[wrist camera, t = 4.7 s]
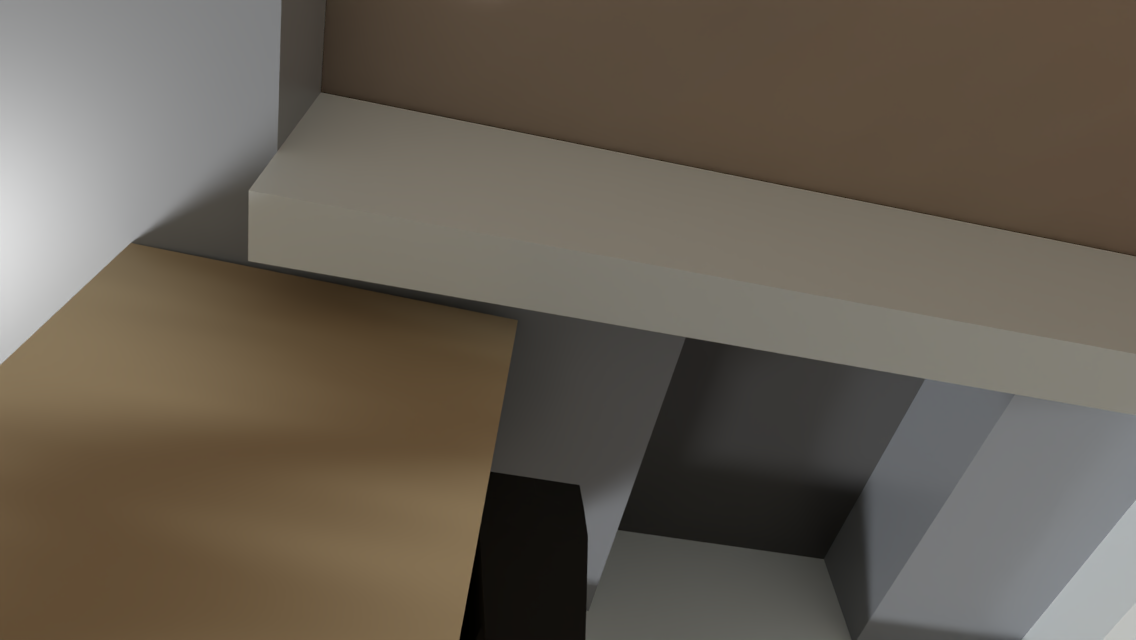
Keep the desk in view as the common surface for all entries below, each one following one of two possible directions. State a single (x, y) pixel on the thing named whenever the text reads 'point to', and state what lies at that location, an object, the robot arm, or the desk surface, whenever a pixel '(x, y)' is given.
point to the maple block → (244, 458)
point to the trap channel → (630, 329)
